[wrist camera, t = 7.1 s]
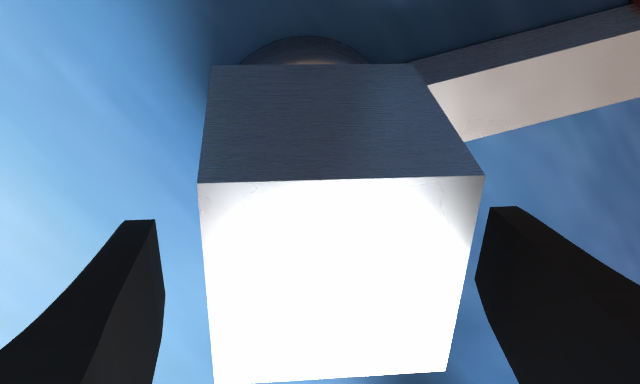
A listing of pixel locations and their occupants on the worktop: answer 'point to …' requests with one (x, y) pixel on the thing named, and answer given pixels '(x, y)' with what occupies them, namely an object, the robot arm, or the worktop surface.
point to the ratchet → (510, 71)
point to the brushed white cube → (331, 221)
